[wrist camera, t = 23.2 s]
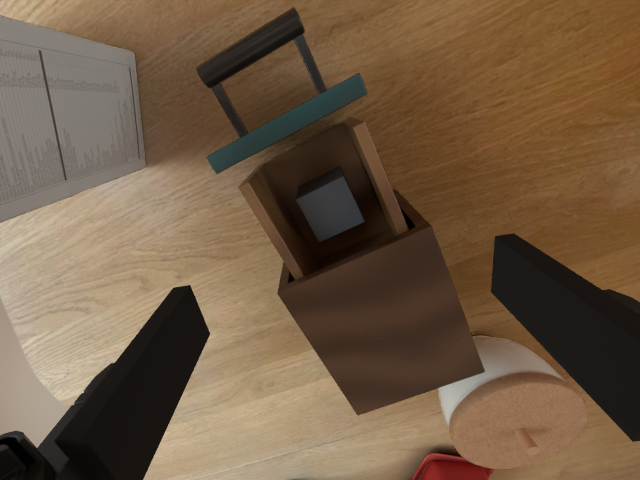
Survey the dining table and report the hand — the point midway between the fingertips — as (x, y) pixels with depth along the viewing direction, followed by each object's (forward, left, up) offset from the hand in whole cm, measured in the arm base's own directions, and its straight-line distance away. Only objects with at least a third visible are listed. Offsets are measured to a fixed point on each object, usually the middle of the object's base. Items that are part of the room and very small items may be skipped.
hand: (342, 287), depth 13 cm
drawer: (-3, 0, -16) cm, 16 cm away
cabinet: (+10, 0, -17) cm, 20 cm away
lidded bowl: (+27, +7, -17) cm, 33 cm away
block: (0, 0, -15) cm, 15 cm away
